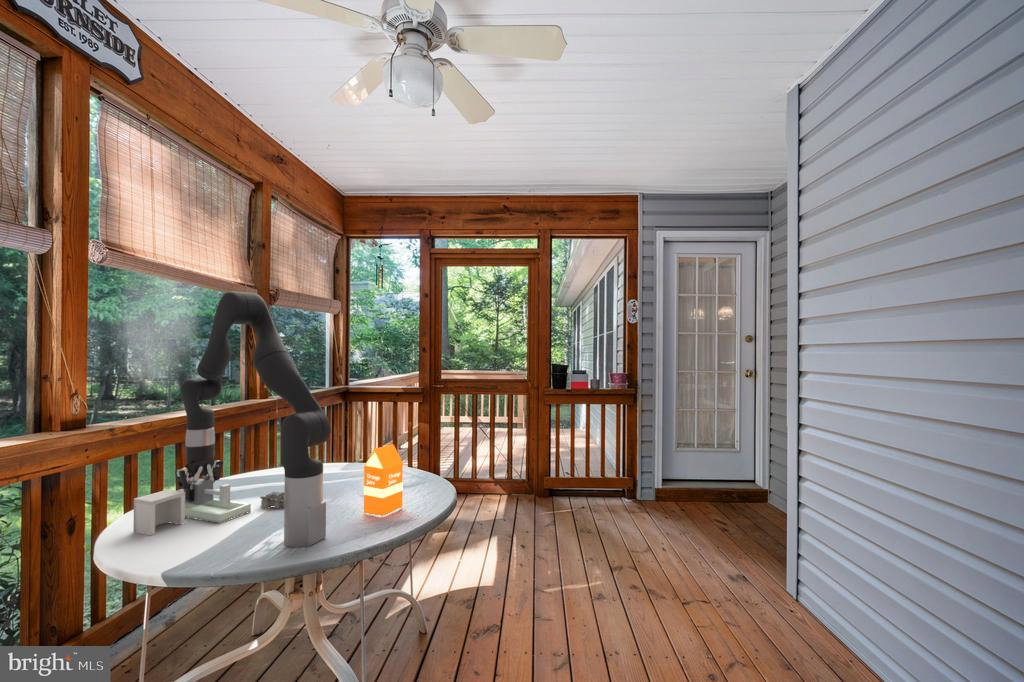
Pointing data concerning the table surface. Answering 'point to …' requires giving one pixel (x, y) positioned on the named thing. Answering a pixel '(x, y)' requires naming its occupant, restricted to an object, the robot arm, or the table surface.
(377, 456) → the orange juice
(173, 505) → the bay
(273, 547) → the table surface
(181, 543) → the table surface
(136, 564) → the table surface
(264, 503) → the egg carton
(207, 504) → the tray
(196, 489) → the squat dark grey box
